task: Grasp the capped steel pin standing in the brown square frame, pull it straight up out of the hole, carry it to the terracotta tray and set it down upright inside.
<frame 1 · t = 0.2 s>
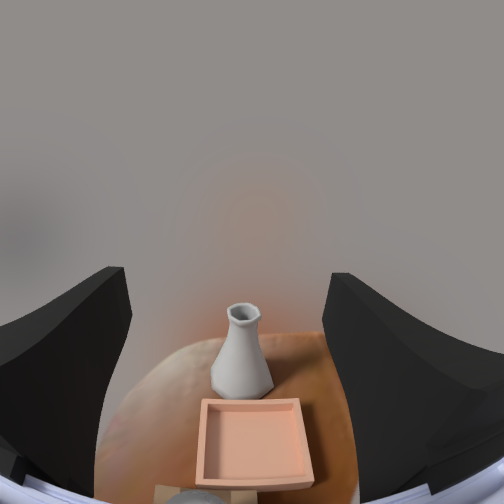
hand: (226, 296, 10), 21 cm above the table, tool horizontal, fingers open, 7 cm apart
flask: (241, 381, 32), on the table
tray: (252, 448, 24), on the table
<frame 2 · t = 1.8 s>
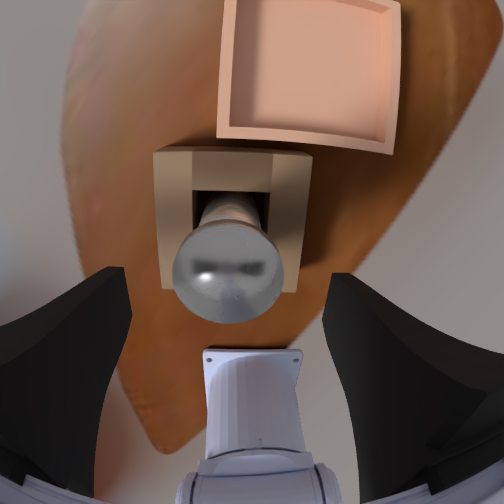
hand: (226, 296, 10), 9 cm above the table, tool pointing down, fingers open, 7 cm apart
pin: (229, 237, 15), in the brown square frame
brown square frame: (230, 212, 18), on the table
tray: (308, 61, 14), on the table
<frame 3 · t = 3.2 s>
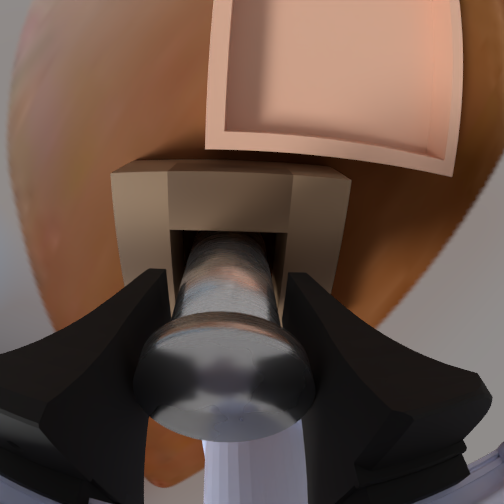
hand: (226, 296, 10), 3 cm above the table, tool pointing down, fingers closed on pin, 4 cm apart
pin: (226, 304, 10), in the brown square frame, touching gripper
brown square frame: (228, 251, 13), on the table
tray: (339, 39, 9), on the table
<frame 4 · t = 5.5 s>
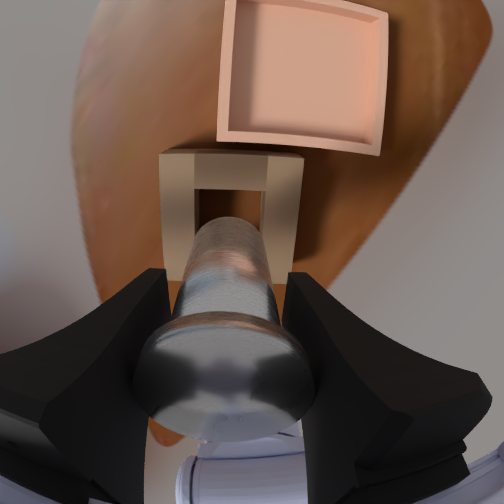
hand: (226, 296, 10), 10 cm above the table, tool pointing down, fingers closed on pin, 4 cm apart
pin: (226, 304, 10), point 11 cm above the table, touching gripper
brown square frame: (229, 209, 20), on the table
tray: (302, 69, 16), on the table
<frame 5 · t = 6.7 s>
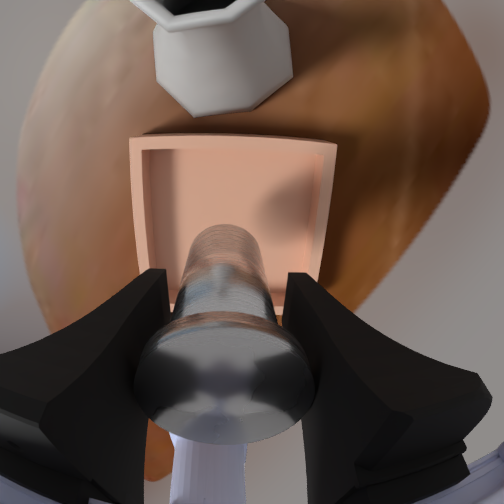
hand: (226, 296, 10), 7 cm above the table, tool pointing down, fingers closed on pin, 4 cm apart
pin: (224, 308, 10), point 8 cm above the table, touching gripper
flask: (222, 52, 13), on the table
tray: (230, 221, 17), on the table
when the fingers open (5 cm above the table, at t = 7.9 s): pin drops 1 cm, resting on tray.
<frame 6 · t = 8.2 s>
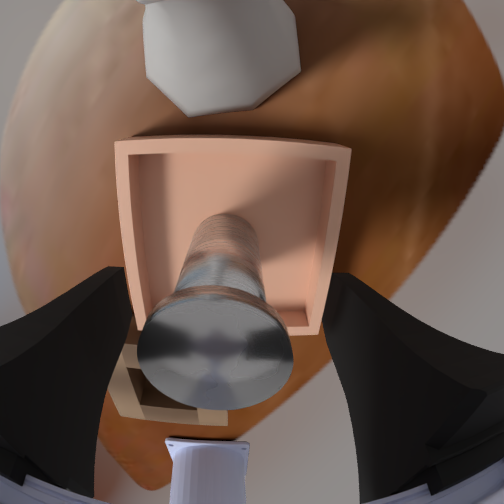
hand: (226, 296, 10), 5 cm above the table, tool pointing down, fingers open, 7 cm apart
pin: (220, 288, 11), in the tray, point 4 cm above the table
flask: (220, 43, 11), on the table
brown square frame: (168, 362, 19), on the table
tray: (229, 233, 15), on the table
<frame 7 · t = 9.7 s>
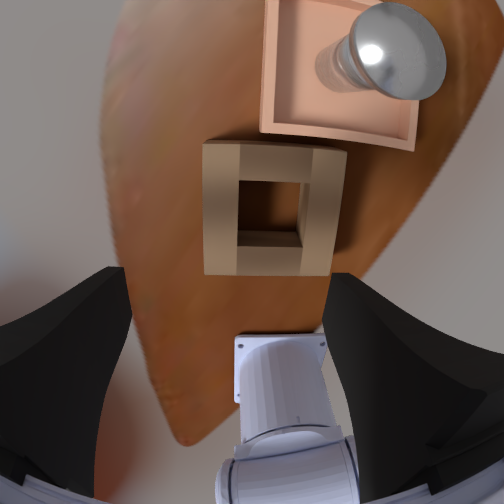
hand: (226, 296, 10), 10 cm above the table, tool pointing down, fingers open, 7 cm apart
pin: (365, 60, 12), in the tray, point 4 cm above the table
brown square frame: (268, 202, 19), on the table
tray: (339, 65, 15), on the table
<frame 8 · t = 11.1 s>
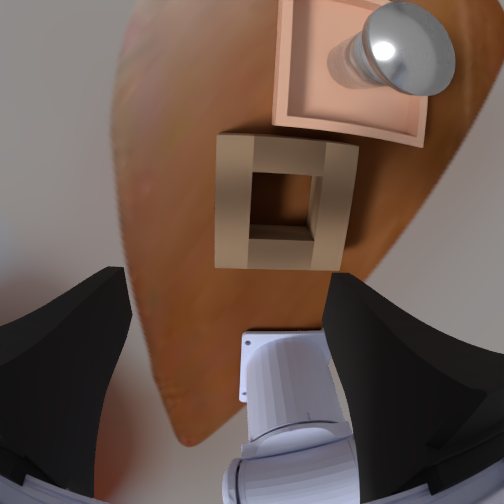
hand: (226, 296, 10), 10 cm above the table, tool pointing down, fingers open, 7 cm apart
pin: (377, 57, 12), in the tray, point 4 cm above the table
brown square frame: (279, 196, 19), on the table
tray: (350, 62, 16), on the table
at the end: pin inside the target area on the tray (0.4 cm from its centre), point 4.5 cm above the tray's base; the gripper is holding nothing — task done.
